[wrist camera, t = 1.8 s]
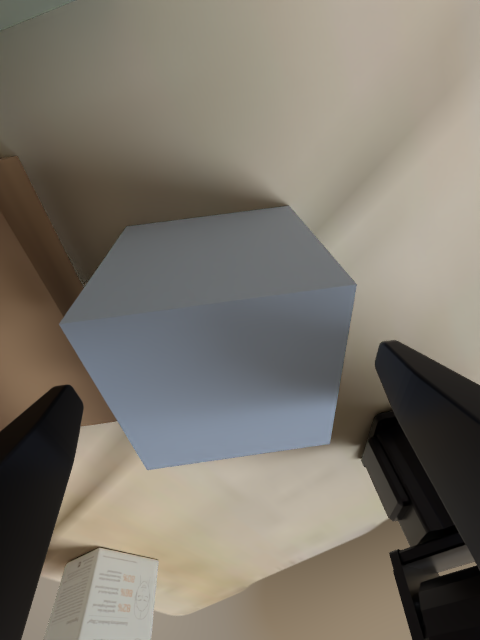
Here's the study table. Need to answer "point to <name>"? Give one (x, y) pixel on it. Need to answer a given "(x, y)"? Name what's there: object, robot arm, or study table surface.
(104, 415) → the walnut slab
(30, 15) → the grey-green slab
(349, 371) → the study table surface
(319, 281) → the blue cube
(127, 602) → the small box
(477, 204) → the study table surface
